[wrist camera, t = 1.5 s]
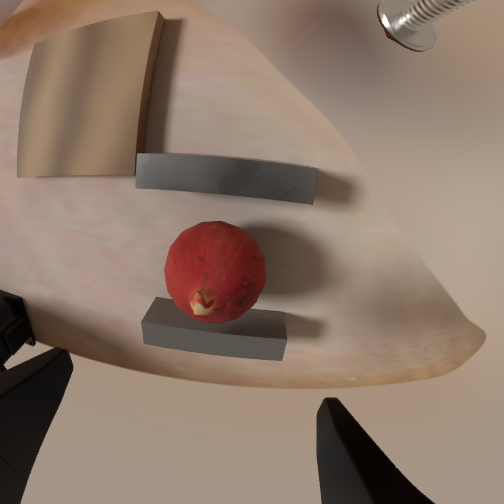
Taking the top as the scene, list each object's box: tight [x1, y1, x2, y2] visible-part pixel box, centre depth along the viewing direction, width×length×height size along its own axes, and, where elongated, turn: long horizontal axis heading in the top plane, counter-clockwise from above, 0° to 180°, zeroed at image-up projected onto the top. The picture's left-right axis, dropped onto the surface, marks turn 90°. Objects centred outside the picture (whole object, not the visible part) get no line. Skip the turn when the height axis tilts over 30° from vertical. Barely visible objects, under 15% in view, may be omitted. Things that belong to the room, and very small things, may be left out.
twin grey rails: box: [136, 153, 318, 361], centre depth 18 cm, size 10×13×4 cm
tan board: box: [17, 11, 165, 178], centre depth 15 cm, size 12×12×2 cm
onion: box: [164, 221, 266, 324], centre depth 16 cm, size 6×6×8 cm
